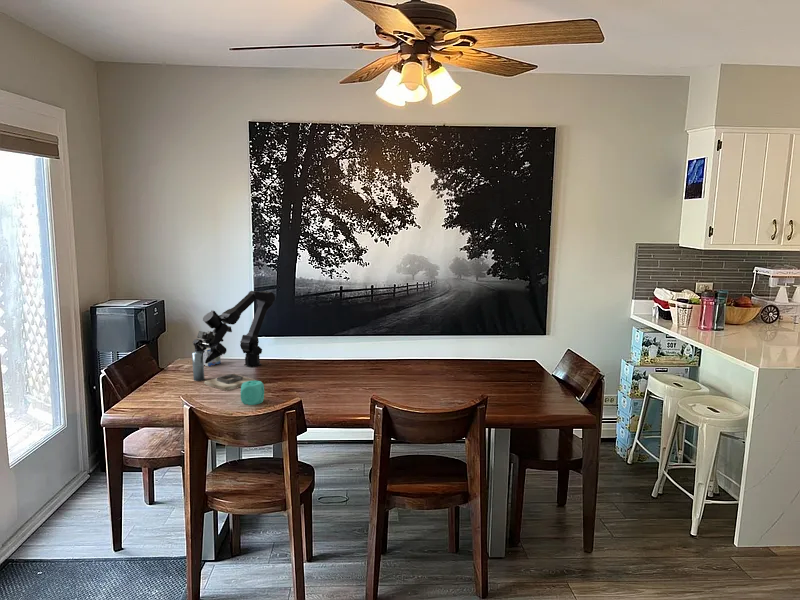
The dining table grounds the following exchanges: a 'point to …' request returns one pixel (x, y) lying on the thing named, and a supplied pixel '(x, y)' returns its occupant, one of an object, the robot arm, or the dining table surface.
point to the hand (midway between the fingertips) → (199, 361)
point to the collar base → (228, 381)
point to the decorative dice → (252, 392)
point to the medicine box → (214, 361)
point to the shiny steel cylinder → (198, 365)
